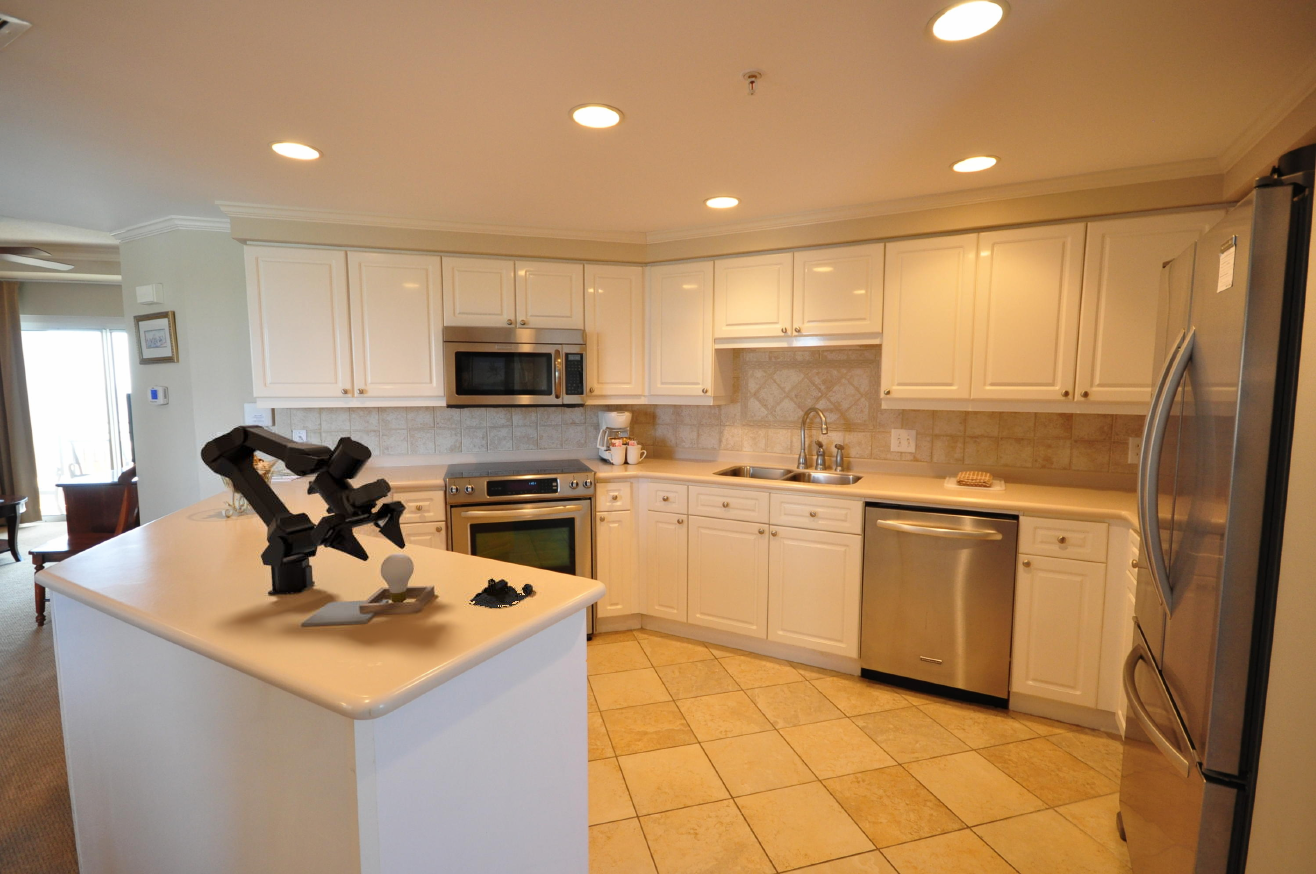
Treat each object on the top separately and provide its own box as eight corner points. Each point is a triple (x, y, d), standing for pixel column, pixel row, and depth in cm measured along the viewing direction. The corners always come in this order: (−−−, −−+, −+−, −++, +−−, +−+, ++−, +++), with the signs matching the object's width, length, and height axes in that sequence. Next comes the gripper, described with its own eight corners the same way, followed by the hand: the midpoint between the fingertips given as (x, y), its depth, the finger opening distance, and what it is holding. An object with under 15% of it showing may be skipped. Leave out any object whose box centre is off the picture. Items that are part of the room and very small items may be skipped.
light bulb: (422, 601, 117) (419, 551, 116) (397, 611, 112) (395, 559, 111) (400, 597, 119) (398, 548, 119) (375, 607, 114) (372, 555, 113)
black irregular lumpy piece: (507, 612, 112) (506, 587, 111) (462, 607, 114) (461, 582, 114) (538, 592, 123) (537, 568, 123) (496, 588, 126) (496, 565, 126)
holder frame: (359, 615, 110) (359, 605, 110) (381, 596, 120) (380, 587, 120) (418, 612, 111) (417, 603, 110) (434, 594, 121) (434, 585, 121)
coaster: (301, 626, 105) (301, 623, 105) (330, 604, 116) (330, 601, 116) (365, 623, 106) (365, 620, 106) (388, 602, 117) (388, 599, 117)
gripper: (318, 473, 108) (368, 537, 105) (396, 462, 125) (441, 516, 122) (289, 514, 111) (337, 577, 108) (369, 497, 128) (413, 551, 125)
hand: (386, 553), depth 116 cm, fingers open, 9 cm apart
